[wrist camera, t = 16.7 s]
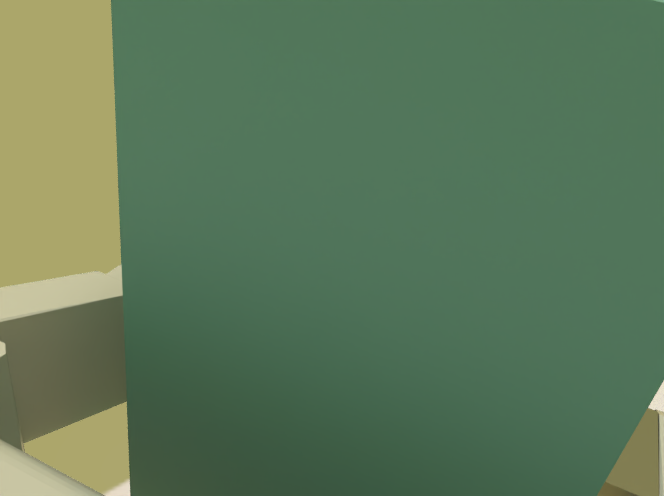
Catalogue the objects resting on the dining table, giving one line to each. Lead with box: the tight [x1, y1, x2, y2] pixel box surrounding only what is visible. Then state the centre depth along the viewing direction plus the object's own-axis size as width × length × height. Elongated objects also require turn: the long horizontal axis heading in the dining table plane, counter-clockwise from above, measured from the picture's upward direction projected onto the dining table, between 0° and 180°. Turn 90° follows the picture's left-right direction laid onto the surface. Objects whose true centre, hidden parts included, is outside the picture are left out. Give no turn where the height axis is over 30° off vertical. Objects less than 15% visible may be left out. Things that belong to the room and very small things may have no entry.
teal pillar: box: [111, 0, 664, 496], centre depth 9 cm, size 4×4×12 cm
